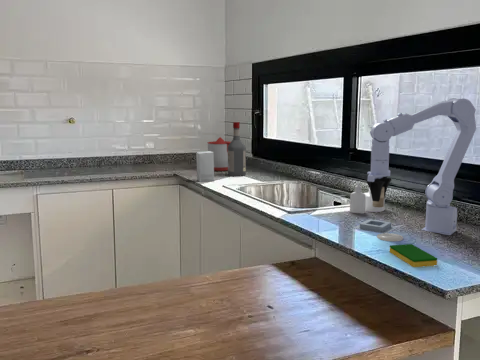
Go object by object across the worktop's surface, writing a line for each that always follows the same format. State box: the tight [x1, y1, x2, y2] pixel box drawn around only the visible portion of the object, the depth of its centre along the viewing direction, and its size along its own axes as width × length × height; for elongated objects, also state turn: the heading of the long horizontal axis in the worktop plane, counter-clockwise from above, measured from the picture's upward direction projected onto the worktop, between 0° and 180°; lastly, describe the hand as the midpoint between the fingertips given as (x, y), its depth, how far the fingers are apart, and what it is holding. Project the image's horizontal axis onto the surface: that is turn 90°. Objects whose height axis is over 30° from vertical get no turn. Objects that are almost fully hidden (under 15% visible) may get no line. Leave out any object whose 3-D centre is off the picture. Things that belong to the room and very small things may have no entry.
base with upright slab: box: [363, 187, 386, 213], centre depth 200 cm, size 9×9×12 cm
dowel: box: [373, 187, 385, 208], centre depth 169 cm, size 4×4×6 cm
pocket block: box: [353, 218, 398, 234], centre depth 172 cm, size 12×10×2 cm
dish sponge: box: [389, 243, 438, 268], centre depth 142 cm, size 7×14×2 cm, turn 11°
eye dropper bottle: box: [349, 182, 366, 214], centre depth 194 cm, size 4×6×12 cm
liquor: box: [227, 121, 247, 178], centre depth 284 cm, size 9×9×30 cm
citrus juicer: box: [207, 136, 231, 172], centre depth 306 cm, size 16×17×20 cm
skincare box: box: [195, 150, 215, 183], centre depth 269 cm, size 8×7×16 cm
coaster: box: [376, 232, 404, 242], centre depth 160 cm, size 8×8×1 cm
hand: (378, 200), depth 169 cm, fingers closed on dowel, 4 cm apart
